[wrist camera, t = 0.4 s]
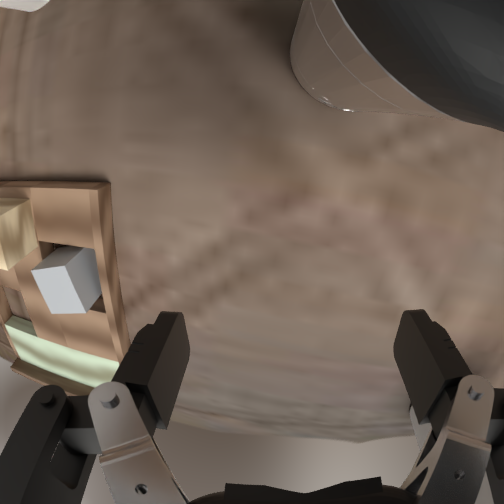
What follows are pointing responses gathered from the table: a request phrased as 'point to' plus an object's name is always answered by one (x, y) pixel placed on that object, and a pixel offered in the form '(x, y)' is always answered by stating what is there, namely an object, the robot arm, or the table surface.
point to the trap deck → (77, 324)
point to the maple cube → (15, 231)
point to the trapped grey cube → (69, 279)
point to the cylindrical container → (23, 4)
